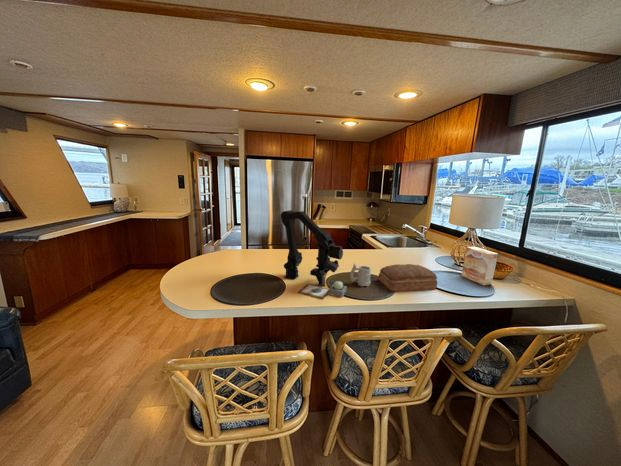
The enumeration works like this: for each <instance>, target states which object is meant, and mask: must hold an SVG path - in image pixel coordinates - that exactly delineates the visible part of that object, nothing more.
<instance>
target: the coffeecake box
mask: <svg viewBox="0 0 621 466" xmlns="http://www.w3.org/2000/svg"><path fill="white" fill-rule="evenodd" d="M465 250H466V251H465V255H464V260H463V266H462V270H461V275H460V276H461V277H464V278H465V279H468V280H470V281H473V282H475V283H478V284H479V285H482V286H488V285H492V284H493V279H494V275H495V269H496V265H497V261H498V256H499V253H498V252H493V251H490V250H489V249H485V248H481V247H477V246H466V249H465Z"/></svg>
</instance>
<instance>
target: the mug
mask: <svg viewBox="0 0 621 466" xmlns="http://www.w3.org/2000/svg"><path fill="white" fill-rule="evenodd" d="M371 269H372V268H371V267H370V266H368V265H360V266H359V267H357V265H356V263H353V267H352V269H351V270H350V273H349V279H350V280H351V282H354V281H356V284H357V283H358V284H359V285H358V284H357V285H358V286H360V285H361V286H360V287H362V286H367V287H369V286H370V285H371V275H372V273H371ZM356 271H357V276H354V273H355V272H356Z"/></svg>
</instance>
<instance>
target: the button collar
mask: <svg viewBox="0 0 621 466" xmlns="http://www.w3.org/2000/svg"><path fill="white" fill-rule="evenodd" d="M328 289H329V293H328V295H331V296H336V297H340V298H343V296H344V295H345V294H346V293H347V289H348V286H346V285H343V288H342V290H337V289H334V283H333V284H332V285H331V286H330V287H329V288H328ZM345 292H346V293H345ZM344 293H345V294H344Z"/></svg>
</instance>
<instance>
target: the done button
mask: <svg viewBox="0 0 621 466" xmlns="http://www.w3.org/2000/svg"><path fill="white" fill-rule="evenodd" d="M333 284H334V289H337V290H342V288H343V286H344V283H343V282H342V281H340V280H337V281H334V283H333Z"/></svg>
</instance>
